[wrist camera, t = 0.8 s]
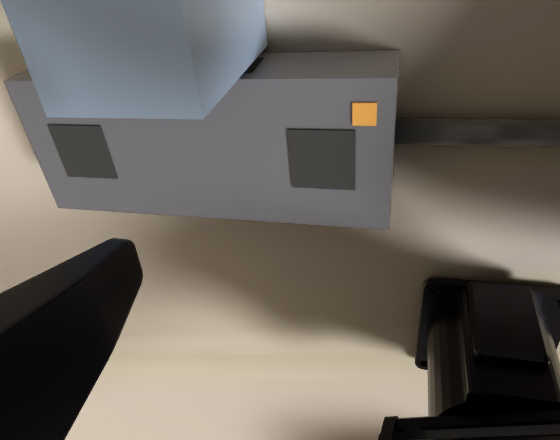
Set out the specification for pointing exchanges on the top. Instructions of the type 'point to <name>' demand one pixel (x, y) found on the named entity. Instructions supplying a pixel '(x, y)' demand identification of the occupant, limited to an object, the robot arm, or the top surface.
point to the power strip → (259, 145)
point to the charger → (136, 54)
